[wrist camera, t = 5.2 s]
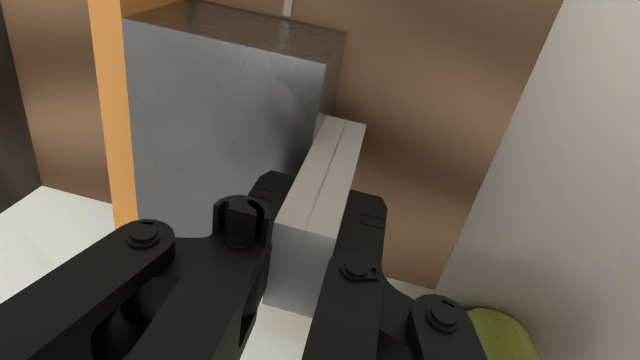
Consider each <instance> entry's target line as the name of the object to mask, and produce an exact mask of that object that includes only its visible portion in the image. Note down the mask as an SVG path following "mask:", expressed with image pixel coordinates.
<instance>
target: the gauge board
mask: <svg viewBox="0 0 640 360" xmlns="http://www.w3.org/2000/svg"><path fill="white" fill-rule="evenodd" d="M193 1H198V2H203V3H207V4H212V5H216V6H221V7H225V8H230V9H234V10H239V11H243V12H248V13H252V14H257V15H262V16H266V17H271V18H275V19H280V20H284V21H289V22H293V23H298V24H302V25H307V26H311V27H316V28H321V29H325V30H330V31H334V32H339V33H343V34H347V36H346V41H345V46H344V51H343V56H342V61H341V66H340V72H339V77H338V82H337V87H336V92H335V97H334V102H333V107H332V113H331V116H333V117H337V118H341V119H345V120H349V121H353V122H357V123H362V124H366V129H365V133H364V137H363V141H362V145H361V149H360V153H359V157H358V161H357V165H356V169H355V173H354V177H353V181H352V185H351V189H352V190H356V191H360V192H363V193H367V194H371V195H375V196H379V197H382V198H383V200H384V202H385V204H386V206H387V208H388V209H387V218H386V227H385V237H384V246H383V255H382V271H383V274H384V276H385V277H389V278H393V279H397V280H400V281H404V282H408V283H412V284H415V285H419V286H423V287H427V288H430V289H434V290H435V288H436V285H437V283H438V281H439V279H440V276H441V274H442V272H443V270H444V267H445V265H446V263H447V261H448V258H449V256H450V254H451V252H452V249H453V247H454V245H455V243H456V240H457V238H458V236H459V234H460V231H461V229H462V227H463V225H464V222H465V220H466V218H467V216H468V214H469V211H470V209H471V207H472V205H473V202H474V200H475V198H476V196H477V193H478V191H479V189H480V187H481V184H482V182H483V180H484V178H485V175H486V173H487V171H488V169H489V166H490V164H491V162H492V160H493V157H494V155H495V153H496V151H497V148H498V146H499V144H500V142H501V139H502V137H503V135H504V133H505V130H506V128H507V126H508V124H509V122H510V119H511V117H512V115H513V113H514V110H515V108H516V106H517V104H518V101H519V99H520V97H521V95H522V92H523V90H524V88H525V86H526V83H527V81H528V79H529V77H530V74H531V72H532V70H533V68H534V65H535V63H536V61H537V59H538V56H539V54H540V52H541V50H542V47H543V45H544V43H545V41H546V39H547V36H548V34H549V32H550V30H551V27H552V25H553V23H554V21H555V18H556V16H557V14H558V12H559V9H560V7H561V5H562V3H563V0H193ZM40 186H46V187H50V188H54V189H57V190H61V191H65V192H69V193H72V194H76V195H80V196H84V197H87V198H91V199H95V200H99V201H103V202H106V203H110V204H112V198H111V190H110V182H109V174H108V165H107V157H106V149H105V141H104V132H103V124H102V116H101V108H100V99H99V91H98V83H97V75H96V66H95V58H94V50H93V42H92V33H91V25H90V17H89V9H88V0H0V213H2V212H3V211H5V210H6V209H8V208H9V207H11V206H12V205H14V204H15V203H17V202H18V201H20V200H21V199H23V198H24V197H26V196H27V195H28V194H30V193H31V192H33V191H34V190H36V189H37V188H39V187H40Z"/></svg>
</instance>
